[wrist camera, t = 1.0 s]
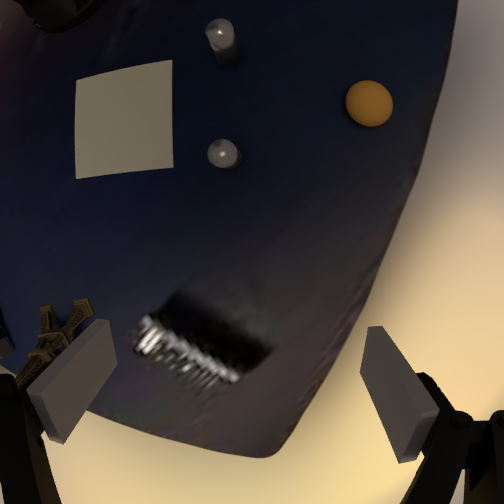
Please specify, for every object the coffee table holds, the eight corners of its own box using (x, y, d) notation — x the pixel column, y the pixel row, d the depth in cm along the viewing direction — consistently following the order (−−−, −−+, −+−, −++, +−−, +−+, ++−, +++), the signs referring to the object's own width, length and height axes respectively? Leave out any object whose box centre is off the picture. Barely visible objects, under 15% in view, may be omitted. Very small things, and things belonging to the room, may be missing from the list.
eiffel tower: (113, 359, 44) (33, 475, 20) (65, 362, 45) (-17, 457, 21) (88, 297, 42) (-26, 394, 17) (40, 306, 42) (-65, 386, 18)
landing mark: (77, 80, 34) (76, 80, 34) (172, 60, 33) (172, 59, 33) (76, 178, 37) (76, 178, 37) (173, 167, 37) (173, 167, 37)
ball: (339, 85, 34) (351, 72, 28) (380, 89, 34) (397, 78, 28) (341, 128, 35) (354, 121, 30) (383, 130, 35) (401, 125, 30)
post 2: (219, 147, 36) (207, 140, 27) (241, 146, 36) (235, 138, 27) (220, 169, 37) (208, 168, 28) (242, 168, 37) (236, 166, 28)
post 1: (217, 51, 33) (205, 20, 24) (238, 49, 33) (232, 17, 24) (217, 69, 34) (205, 41, 25) (239, 67, 34) (233, 39, 25)
